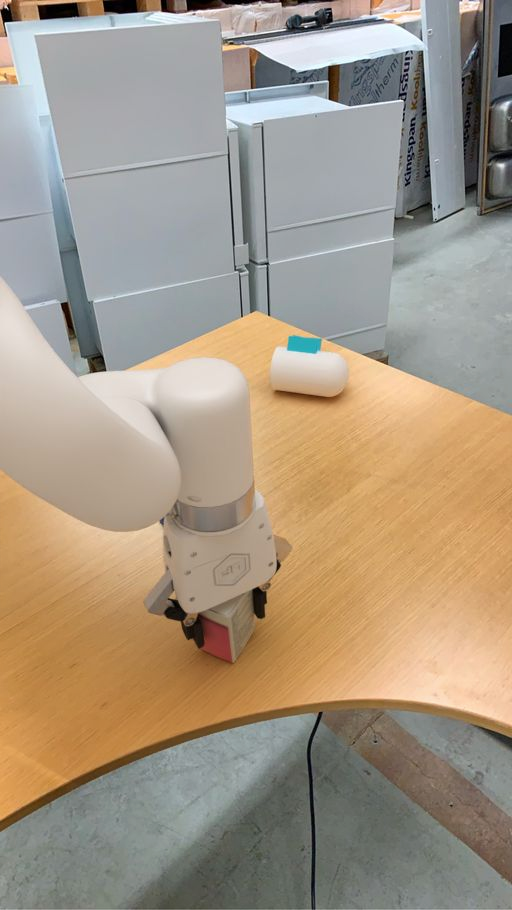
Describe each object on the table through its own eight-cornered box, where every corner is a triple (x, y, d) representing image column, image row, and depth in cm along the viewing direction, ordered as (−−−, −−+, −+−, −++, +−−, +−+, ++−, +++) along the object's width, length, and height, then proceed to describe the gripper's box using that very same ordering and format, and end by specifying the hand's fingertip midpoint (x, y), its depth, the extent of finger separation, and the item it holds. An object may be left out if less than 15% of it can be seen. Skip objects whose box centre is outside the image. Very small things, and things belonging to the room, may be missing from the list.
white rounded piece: (348, 344, 100) (273, 335, 103) (341, 402, 102) (268, 392, 105) (360, 338, 111) (291, 331, 114) (353, 391, 113) (286, 383, 116)
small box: (222, 615, 73) (216, 566, 68) (256, 629, 71) (253, 580, 66) (198, 649, 69) (190, 601, 64) (233, 665, 67) (228, 617, 63)
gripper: (134, 559, 52) (163, 688, 63) (318, 484, 58) (315, 614, 69) (103, 505, 57) (135, 632, 68) (275, 441, 63) (278, 568, 74)
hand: (225, 622), depth 68 cm, fingers closed on small box, 6 cm apart
